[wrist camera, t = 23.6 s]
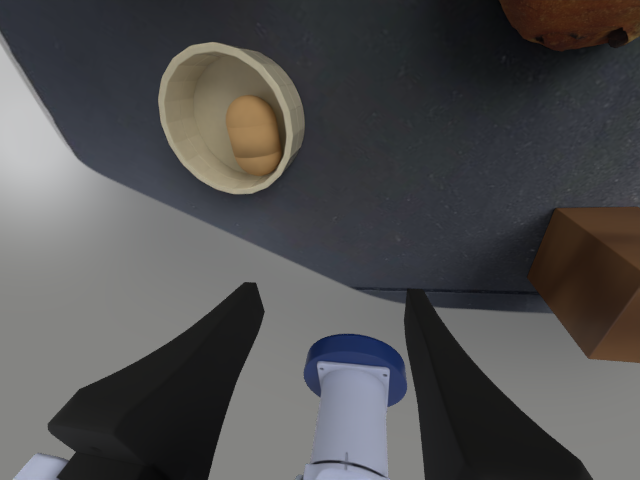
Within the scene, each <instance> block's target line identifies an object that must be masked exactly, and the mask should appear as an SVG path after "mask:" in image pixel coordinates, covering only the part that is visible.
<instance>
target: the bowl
mask: <svg viewBox="0 0 640 480" xmlns="http://www.w3.org/2000/svg"><path fill="white" fill-rule="evenodd" d="M244 95H254V96H257V97H260V98H262V99H263V100H265V101H266V102H267V103H268V104H269V105H270V106H271V108H272V109H273V111H274V113H275V116H276V120H277V125H278V131H279V137H280V143H281V151H282V155H281V160H280V163H279V165H278V166H277V168H276V169H275V170H274V171H273V172H271V173H269V174H267V175H263V176H255V175H251V174H249V173H247V172H246V171H244V170H243V169H242V168H241V167H240V166H239V165H238V163H237V161H236V159H235V156H234V153H233V149H232V146H231V142H230V138H229V134H228V131H227V126H226V113H227V109H228V107H229V105H230V104H231V103H232V102H233V101H234V100H235V99H236V98H238V97H240V96H244ZM158 103H159V111H160V119H161V124H162V127H163V130H164V132H165V135H166V137H167V140H168V143H169V145H170V147H171V148H172V150H173V151H174V153H175V154H176V156H177V157H178V159H179V160H180V161H181V163H182V164H183V165H184V166H185V167H186V168H187V169H188V170H189V171H190V172H191V173H192V174H193V175H194V176H195V177H196V178H198V179H199V180H201V181H202V182H204V183H206V184H207V185H209V186H211V187H213V188H214V189H217V190H220V191H224V192H228V193H231V194H251V193H255V192H257V191H260V190H262V189H265V188H267V187H269V186H270V185H271V184H272V183H273V182H274V181H275V180H276V179H278V178H279V177H280V176H281V175H282V174H283V172H284V171H285V170H286V169H287V168H288V167H289V166H290V164H291V163H292V162H293V161H294V159H295V157H296V156H297V154H298V152H299V150H300V148H301V144H302V141H303V137H304V129H305V120H304V111H303V106H302V103H301V99H300V97H299V94H298V92H297V89H296V88H295V86H294V84H293V82H292V81H291V79H290V78H289V76H288V75H287V74H286V73H285V71H284V70H283V69H282V68H281V67H280V66H279V65H278V64H276V63H275V62H274V61H273V60H271V59H270V58H268V57H267V56H265V55H263V54H261V53H260V52H257V51H253V50H250V49H246V48H242V47H238V46H233V45H227V44H222V43H217V42H210V43H203V44H197V45H192V46H189V47H188V48H187V49H185V50H184V51H182V52H181V53H179V54H178V55H177V56H175V57H174V58H173V59H172V61H171V62H170V64H169V66H168V67H167V69H166V71H165V73H164V74H163V76H162V80H161V85H160V91H159V97H158Z"/></svg>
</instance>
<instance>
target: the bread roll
mask: <svg viewBox="0 0 640 480" xmlns="http://www.w3.org/2000/svg"><path fill="white" fill-rule="evenodd" d="M499 1H500V3H501V6H502V8H503V11H504V13H505V14H506V16H507V18H508V20H509V22H510V24H511V26H512V27H513V28H515V29H516V30H517V31H518V32H519V34H520V35H521V36H522V37H523V38H524V39H526V40H528V41H531V42H535V43H540V44H542V45H544V46H546V47H548V48H550V49H552V50H557V51H562V52H563V51H564V50H570V49H579V48H582V47H590V46H595V45H600V44H604V43H609V45H610V47H614V48H617V47H620V46H623V45H626V44H628V43H629V42H631V41H632V40H634V39H635V38H637V37H639V36H640V0H499Z"/></svg>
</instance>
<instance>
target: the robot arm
mask: <svg viewBox="0 0 640 480" xmlns="http://www.w3.org/2000/svg"><path fill="white" fill-rule="evenodd" d="M264 312H265V311H264V308H263V304H262V301H261V298H260V295H259V291H258V288H257V284H256V283H251V282H250V283H249V282H245V283H243V284H242V285H241V286H240V287H238V288H237V289H236V290H235V291H234V292H233V293H232V294H230V295H229V296H228V297H227V298H226V299H225V300H223V301H222V302H221V303H220V304H219V305H218V306H217V307H215V308H214V309H213V310H212V311H211V312H209V313H208V314H207V315H206V316H204V317H203V318H202V319H201V320H199V321H198V322H197V323H196V324H194V325H193V326H192V327H190V328H189V329H188V330H186V331H185V332H184V333H182V334H181V335H179V336H178V337H176V338H175V339H173V340H172V341H170V342H169V343H167V344H166V345H164V346H162V347H161V348H159V349H157V350H156V351H154V352H152V353H151V354H149V355H148V356H146V357H144V358H142V359H140V360H139V361H137V362H135V363H133V364H131V365H129V366H127V367H126V368H124V369H122V370H120V371H118V372H116V373H114V374H112V375H110V376H108V377H105V378H103V379H101V380H99V381H97V382H95V383H92V384H90V385H88V386H86V387H83V388H81V389H79V390H78V391H77V392H76V394H75V395H74V396H73V397H72V398H71V399H70V400H69V401H68V402H67V404H66V405H65V406H64V407H63V408H62V409H61V410H60V411H59V412H58V413H57V414H56V415H55V416H54V417H53V419H52V420H51V421H50V422H49V423H48V430H49V431H50V433H51V434H52V435H54V436H55V437H56V438H57V439H59V440H60V441H62V442H63V443H64V444H66V445H67V446H69V447H70V448H71V449H73V450H74V451H76V453H75V454H74V455H73V457H72V458H71V459H70V461H68V460H66V459H64V458H60V457H56V456H51V455H46V454H42V453H37V454H35V455H34V456H33V457H32V458H31V459H30V461H28V463H27V464H26V465H25V466H24V467H23V468H22V469H21V471H20V472H19V473H18V474H17V475H16V476H15V477H14V479H13V480H208V477H209V473H210V468H211V465H212V461H213V456H214V453H215V449H216V445H217V442H218V439H219V435H220V432H221V428H222V425H223V421H224V418H225V415H226V412H227V409H228V406H229V402H230V399H231V396H232V394H233V391H234V388H235V385H236V382H237V380H238V377H239V374H240V372H241V370H242V368H243V366H244V363H245V361H246V359H247V356H248V354H249V352H250V350H251V348H252V345H253V343H254V341H255V339H256V336H257V334H258V332H259V329H260V326H261V323H262V319H263V315H264ZM404 325H405V338H406V345H407V350H408V356H409V361H410V365H411V371H412V376H413V381H414V386H415V391H416V397H417V403H418V412H419V422H420V431H421V441H422V451H423V462H424V473H425V480H593V478H592V477H591V476H590V474H589V473H588V471H587V470H586V468H585V466H584V465H583V463H582V462H581V461H580V460H579V459H578V458H577V457H576V456H574V455H573V454H572V453H571V452H570V451H568V450H567V449H566V448H564V447H563V446H562V445H561V444H560V443H559V442H557V441H556V440H555V439H554V438H552V437H551V436H550V435H549V434H547V433H546V432H545V431H544V430H543V429H542V428H540V427H539V426H538V425H537V424H536V423H535V422H534V421H532V419H530V418H529V417H528V416H527V415H526V414H525V413H524V412H522V411H521V410H520V409H519V408H518V407H517V406H516V405H515V404H514V403H513V402H512V401H511V400H510V399H509V398H508V397H507V396H506V395H505V394H504V393H503V392H502V391H501V390H500V389H499V388H498V387H497V386H496V385H495V384H494V383H493V382H492V381H491V380H490V379H489V378H488V377H487V376H486V375H485V374H484V373H483V372H482V371H481V370H480V369H479V367H478V366H477V365H476V364H475V363H474V362H473V361H472V359H471V358H470V357H469V356H468V355H467V354H466V352H465V351H464V350H463V349H462V347H461V346H460V345H459V344H458V342H457V341H456V340H455V338H454V337H453V336H452V334H451V333H450V332H449V330H448V329H447V327H446V326H445V324H444V323H443V322H442V320H441V319H440V317H439V316H438V314H437V313H436V311H435V309H434V308H433V306H432V305H431V303H430V301H429V299H428V298H427V296H426V294H425V292H424V291H423V290H422V289H407V297H406V307H405V317H404ZM317 369H318V375H319V380H320V386H321V397H320V404H319V411H318V416H317V423H316V430H315V436H314V442H313V448H312V454H311V461H310V464H305V470H304V476H303V475H298V476H296V478H295V479H294V480H390V478H388V455H387V432H386V431H387V430H386V413H387V404H388V390H389V376H390V370H389V368H387V367H380V366H370V365H359V364H349V363H338V362H328V361H318V362H317Z"/></svg>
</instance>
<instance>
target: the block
mask: <svg viewBox="0 0 640 480" xmlns="http://www.w3.org/2000/svg"><path fill="white" fill-rule="evenodd" d="M527 278H528V280H529V281H530V282H531V283H532V285H533V286H534V287H535V289H536V290H537V291H538V293H539V294H540V295H541V297H542V298H543V299H544V301H545V302H546V303H547V305H548V306H549V307H550V309H551V310H552V311H553V313H554V314H555V315H556V316H557V318H558V319H559V321H560V322H561V323H562V325H563V326H564V327H565V329H566V330H567V331H568V333H569V334H570V335H571V337H572V338H573V339H574V340H575V342H576V343H577V344H578V346H579V347H580V348H581V350H582V351H583V352H584V354H585V355H586V356H587V358H589V359H597V360H610V361H623V362H635V363H640V208H639V207H591V208H555V210H554V213H553V215H552V218H551V220H550V223H549V225H548V227H547V230H546V232H545V235H544V237H543V240H542V242H541V244H540V247H539V249H538V252H537V254H536V257H535V259H534V261H533V264H532V266H531V269H530V271H529V274H528V276H527Z"/></svg>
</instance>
